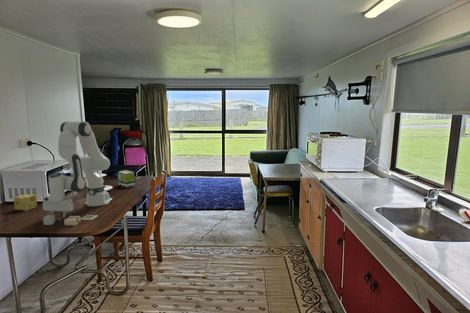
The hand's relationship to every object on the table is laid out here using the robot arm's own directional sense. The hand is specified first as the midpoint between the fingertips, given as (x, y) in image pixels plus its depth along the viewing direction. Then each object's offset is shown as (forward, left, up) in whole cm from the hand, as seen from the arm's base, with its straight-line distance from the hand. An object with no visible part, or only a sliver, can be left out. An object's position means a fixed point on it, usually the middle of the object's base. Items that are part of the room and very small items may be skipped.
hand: (59, 216), depth 202 cm
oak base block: (+6, +14, -2) cm, 15 cm away
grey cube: (+8, -1, -2) cm, 8 cm away
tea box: (-98, +2, -2) cm, 98 cm away
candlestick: (-74, -14, -2) cm, 75 cm away
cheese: (-19, -41, -2) cm, 45 cm away
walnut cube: (0, 0, -2) cm, 2 cm away
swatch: (-5, +19, -2) cm, 20 cm away
